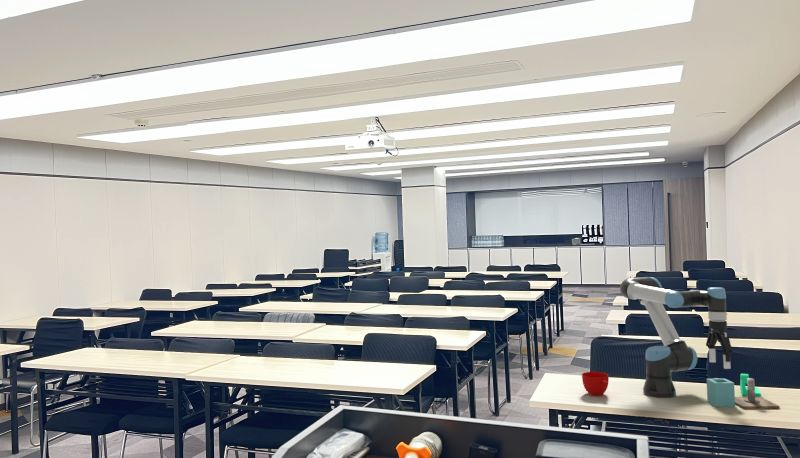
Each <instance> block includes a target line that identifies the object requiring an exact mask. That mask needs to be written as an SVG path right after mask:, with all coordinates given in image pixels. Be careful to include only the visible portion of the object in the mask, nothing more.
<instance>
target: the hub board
mask: <svg viewBox="0 0 800 458" xmlns="http://www.w3.org/2000/svg"><path fill="white" fill-rule="evenodd" d="M746 387H747V391H748V396H744V395H742V396H735V406H738V407H739V408H741V409H742V410H768V409H769V410H773V409H775V410H777V409H778V410H780V409H781V406H780V405H779V404H776V403H774V402H772V401H770V400H768V399H766V398H764V397H762V396H761V397H760V396H755V387H756V385H755V379H754V378H752V377H749V378H747V383H746Z"/></svg>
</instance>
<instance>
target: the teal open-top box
mask: <svg viewBox="0 0 800 458" xmlns="http://www.w3.org/2000/svg"><path fill="white" fill-rule="evenodd" d="M706 394H707V395H706V396H707V397H706V398H707V403H708V404H711V405H712V406H714V407H716V408H730V407H731V408H732V407H733V408H734V407H736V405H735V397H736V395H735V382H733V381H731V380H729V379H727V378H718V377H714V378H706Z"/></svg>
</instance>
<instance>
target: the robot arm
mask: <svg viewBox="0 0 800 458" xmlns="http://www.w3.org/2000/svg"><path fill="white" fill-rule="evenodd" d="M619 291H620V294H621V295H622V296H623V297H624V298H626V299H628V300H638V301H639V303H640V305H642V306H644V307H645V309H646V311H647V313H648V315H649V317H650V319H651V321H652V324H653V325H654V327H655V330H656V331H657V334H658V335H659V338H660V339H661V341H662V344H663V345H654V346H649V347H647V349H645V356H644V357H645V358H644V359H645V372H646V373H645V375H646V378H645V382H644V385H643V389H642V390H643V391H642V392H643V394H644V395H646V396H648V397H649V396H650V397H653V398H667V399H668V398H672V397H676V396H677V390H676V388H675V384H674V382H673V380H672V373H673V372H674V373H675V372H681V371H682V372H683V371H684V372H685V371H690V370H693V369H694V368H695V367H696V365H697V364H698V353H697V351H696V350H695V348H693V347H692V346H688V345H687V342H686V341H685V340H684V339H681V338H680V336H679V334H678V332H677V330H676V328H675V326H674V324H673V322H672V320H671V318H670V316H669V315H668V312H667V310H666V308H665V306H664V305H667V307H668V308H673V309H678V308H689V307H691V308H692V307H707V309H708V310H707V313H708V315H707V316H708V327H709V328H708V334H707V338H706V343H705V346H706V347H707V348H708V357H709V358H708V361H709V363H716V362H717V358H716V357H717V356H716V355H717V353H716V345H717V342H719V345H720V347H721V349H722V358H723V359H722V361H723V369H724V370H730V369H731V368H732V367H731V355H733V354H734V352H733V348H732V344H731V341H730V335H729V332H725V330H726V329H728V322H727V318H728V317H727V316H728V313H727V295H726V289H725V288H724V287H708V288H707V290H699V289H690V290H685V291H684V290H683V291H678V290H673V289H665V288H663V286H662V284H661V282H660V281H659V280H658V279H657V278H655V277H651V276H643V277H629V278H626V279H624V280H622V282H621V283H620V285H619Z"/></svg>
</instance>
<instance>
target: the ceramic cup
mask: <svg viewBox="0 0 800 458" xmlns="http://www.w3.org/2000/svg"><path fill="white" fill-rule="evenodd" d="M609 378H610V377H609V374H608V373H606V372H599V371H586V372H583V373H581V379H582V385H583V388H584V389H585V391H586V392H587V393H588V395H590V396H593V397H600V396H603V394H605V393H606V391H607V389H608V387H609V386H608V385H609Z"/></svg>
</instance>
